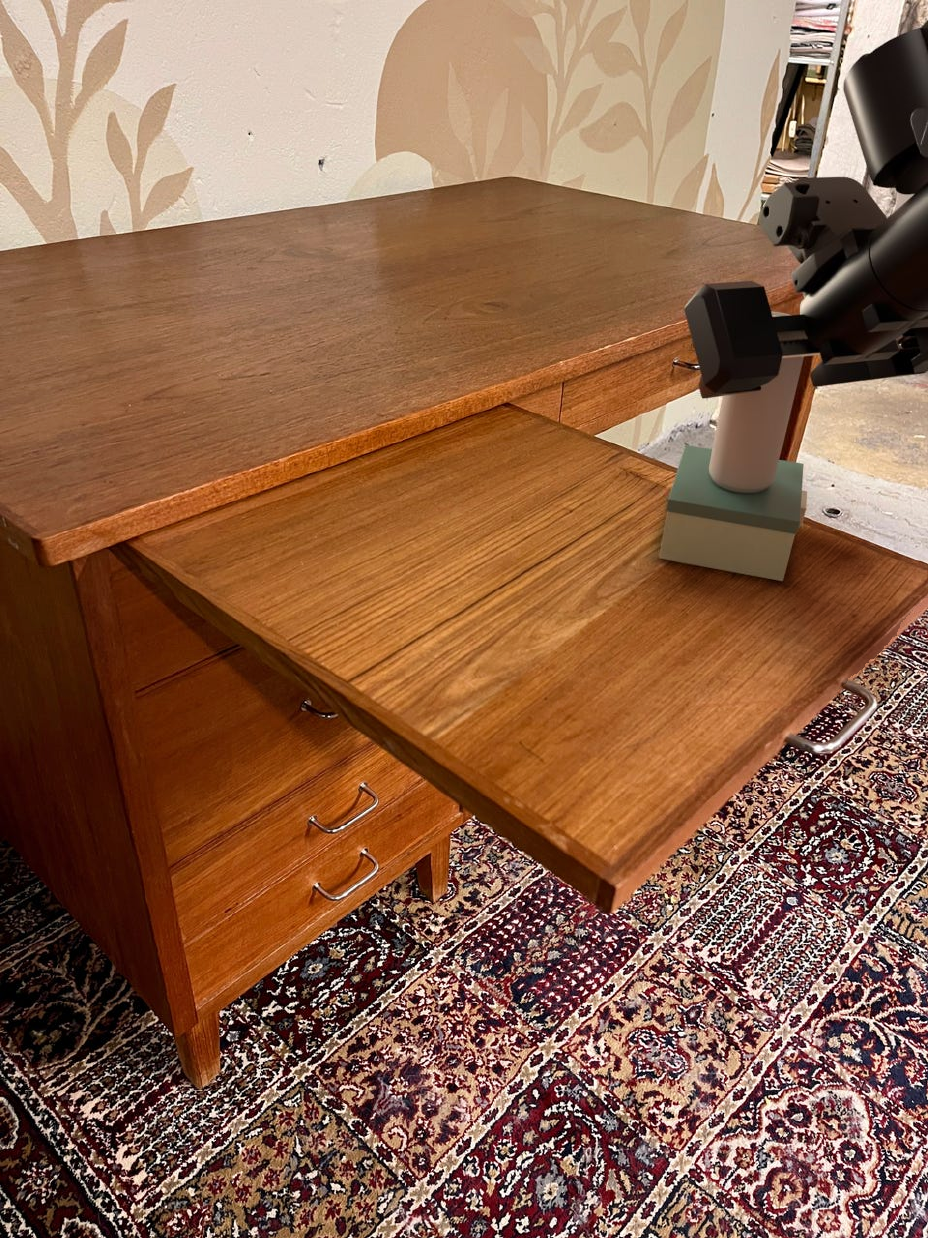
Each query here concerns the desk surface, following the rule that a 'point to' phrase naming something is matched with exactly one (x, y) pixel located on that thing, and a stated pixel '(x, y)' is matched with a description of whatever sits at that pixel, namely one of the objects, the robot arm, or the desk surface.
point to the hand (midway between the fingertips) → (758, 385)
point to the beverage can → (754, 431)
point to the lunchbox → (732, 519)
